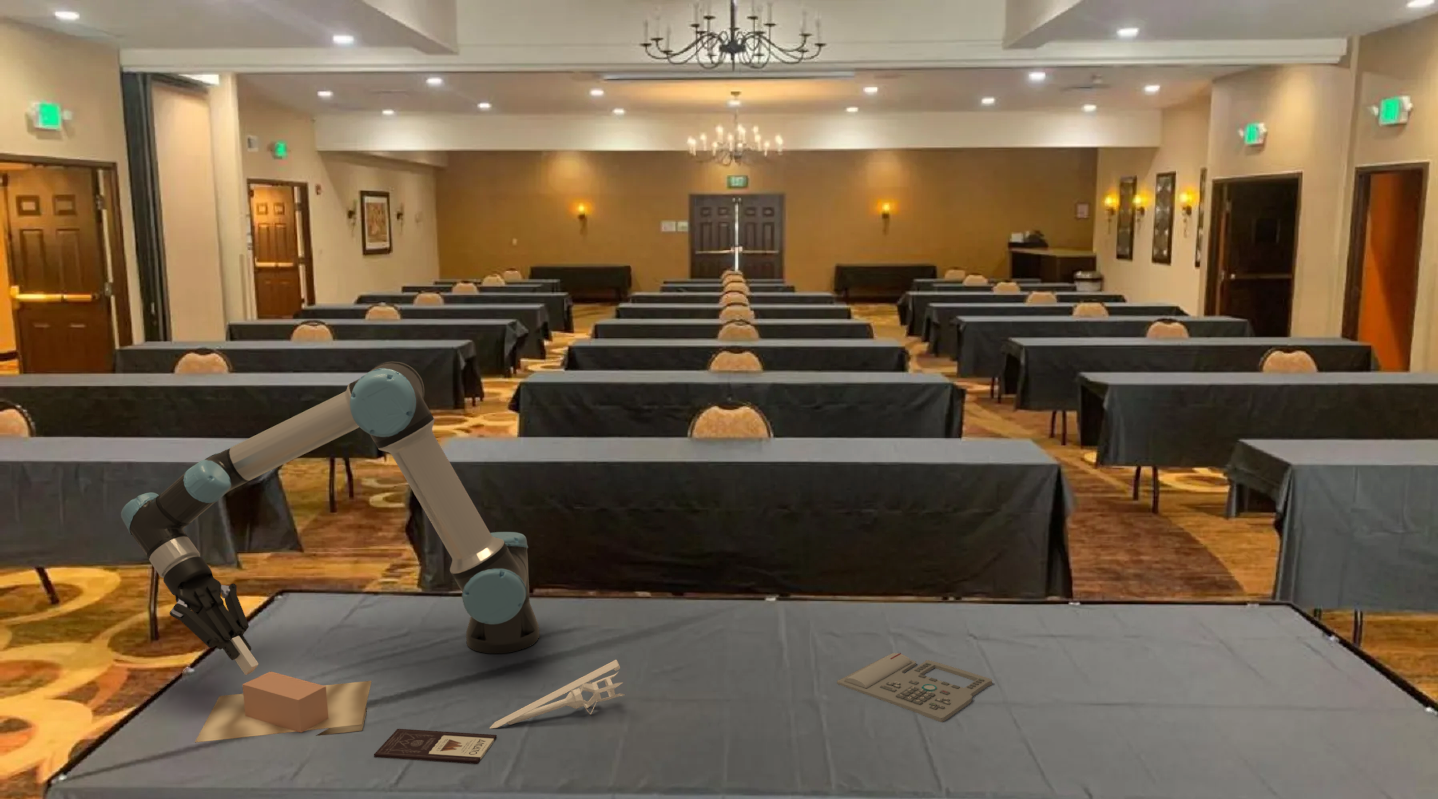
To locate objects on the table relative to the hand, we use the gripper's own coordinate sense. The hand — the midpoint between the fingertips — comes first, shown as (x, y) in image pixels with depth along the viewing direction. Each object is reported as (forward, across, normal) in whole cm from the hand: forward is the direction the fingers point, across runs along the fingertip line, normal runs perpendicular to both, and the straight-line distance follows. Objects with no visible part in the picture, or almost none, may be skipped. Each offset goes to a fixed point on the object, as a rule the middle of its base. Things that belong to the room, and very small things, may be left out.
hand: (252, 669), depth 191 cm
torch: (+42, -24, +29) cm, 57 cm away
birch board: (+10, -2, -2) cm, 11 cm away
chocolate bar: (+33, -5, +20) cm, 39 cm away
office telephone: (+80, -64, +66) cm, 122 cm away
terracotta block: (+4, 0, -2) cm, 4 cm away
